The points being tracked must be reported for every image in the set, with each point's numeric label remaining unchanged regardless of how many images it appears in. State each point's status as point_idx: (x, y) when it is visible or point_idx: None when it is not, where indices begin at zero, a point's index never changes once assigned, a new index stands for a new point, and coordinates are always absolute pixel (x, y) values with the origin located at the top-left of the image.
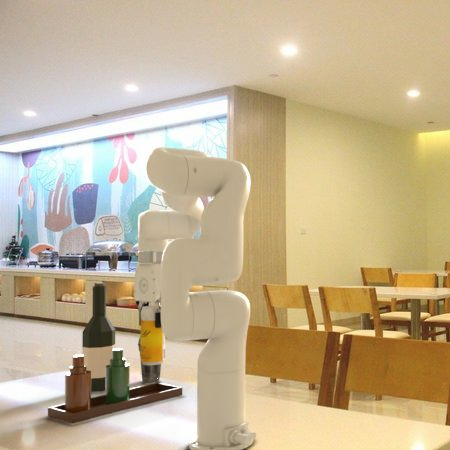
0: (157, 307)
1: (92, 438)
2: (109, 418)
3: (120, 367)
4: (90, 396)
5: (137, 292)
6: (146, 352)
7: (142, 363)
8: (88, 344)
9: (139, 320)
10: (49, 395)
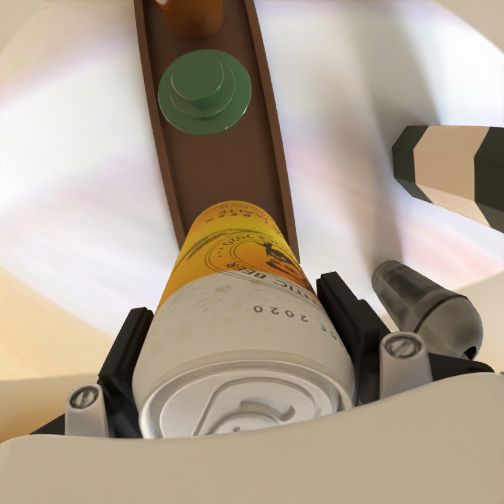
0: (85, 417)
1: (39, 27)
2: (131, 68)
3: (159, 88)
4: (169, 21)
5: (466, 493)
6: (202, 220)
7: (417, 278)
8: (499, 127)
9: (343, 286)
10: (447, 72)
